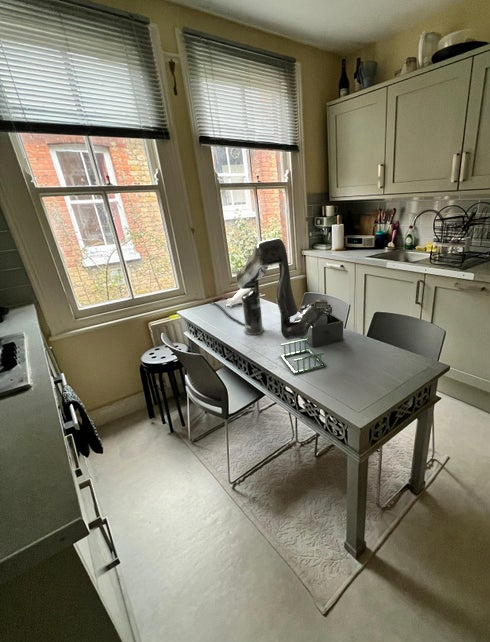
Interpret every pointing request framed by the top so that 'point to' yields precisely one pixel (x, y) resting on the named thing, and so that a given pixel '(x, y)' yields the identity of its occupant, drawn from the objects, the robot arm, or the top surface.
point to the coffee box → (323, 318)
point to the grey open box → (325, 332)
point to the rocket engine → (237, 297)
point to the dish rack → (302, 358)
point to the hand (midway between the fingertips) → (321, 305)
